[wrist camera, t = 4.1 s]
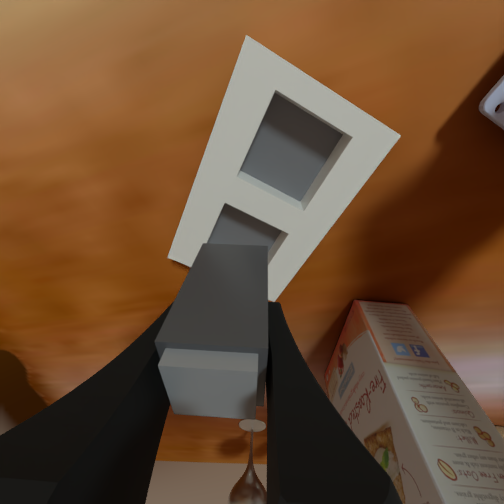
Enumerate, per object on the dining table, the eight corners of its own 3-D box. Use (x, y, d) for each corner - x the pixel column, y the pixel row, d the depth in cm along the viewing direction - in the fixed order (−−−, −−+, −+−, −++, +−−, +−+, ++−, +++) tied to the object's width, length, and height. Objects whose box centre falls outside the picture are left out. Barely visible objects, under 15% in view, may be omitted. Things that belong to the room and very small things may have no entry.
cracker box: (348, 296, 23) (628, 927, 5) (408, 301, 23) (908, 965, 5) (319, 375, 30) (394, 748, 13) (365, 379, 30) (506, 762, 12)
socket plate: (382, 132, 15) (401, 135, 13) (273, 284, 23) (274, 301, 21) (249, 47, 13) (246, 35, 11) (177, 242, 21) (167, 257, 19)
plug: (267, 246, 13) (268, 366, 7) (264, 295, 14) (263, 424, 8) (202, 243, 13) (145, 359, 7) (208, 292, 15) (167, 417, 9)
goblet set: (410, 424, 36) (475, 567, 25) (399, 440, 39) (452, 574, 28) (234, 416, 38) (220, 545, 27) (236, 431, 41) (225, 553, 30)
